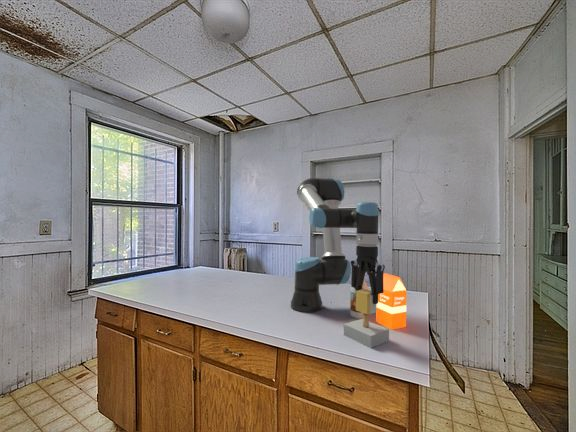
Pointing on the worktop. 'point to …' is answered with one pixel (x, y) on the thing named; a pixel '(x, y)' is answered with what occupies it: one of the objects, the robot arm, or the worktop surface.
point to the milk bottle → (353, 302)
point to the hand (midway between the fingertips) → (366, 310)
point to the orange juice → (392, 303)
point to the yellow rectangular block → (363, 301)
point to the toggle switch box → (366, 332)
